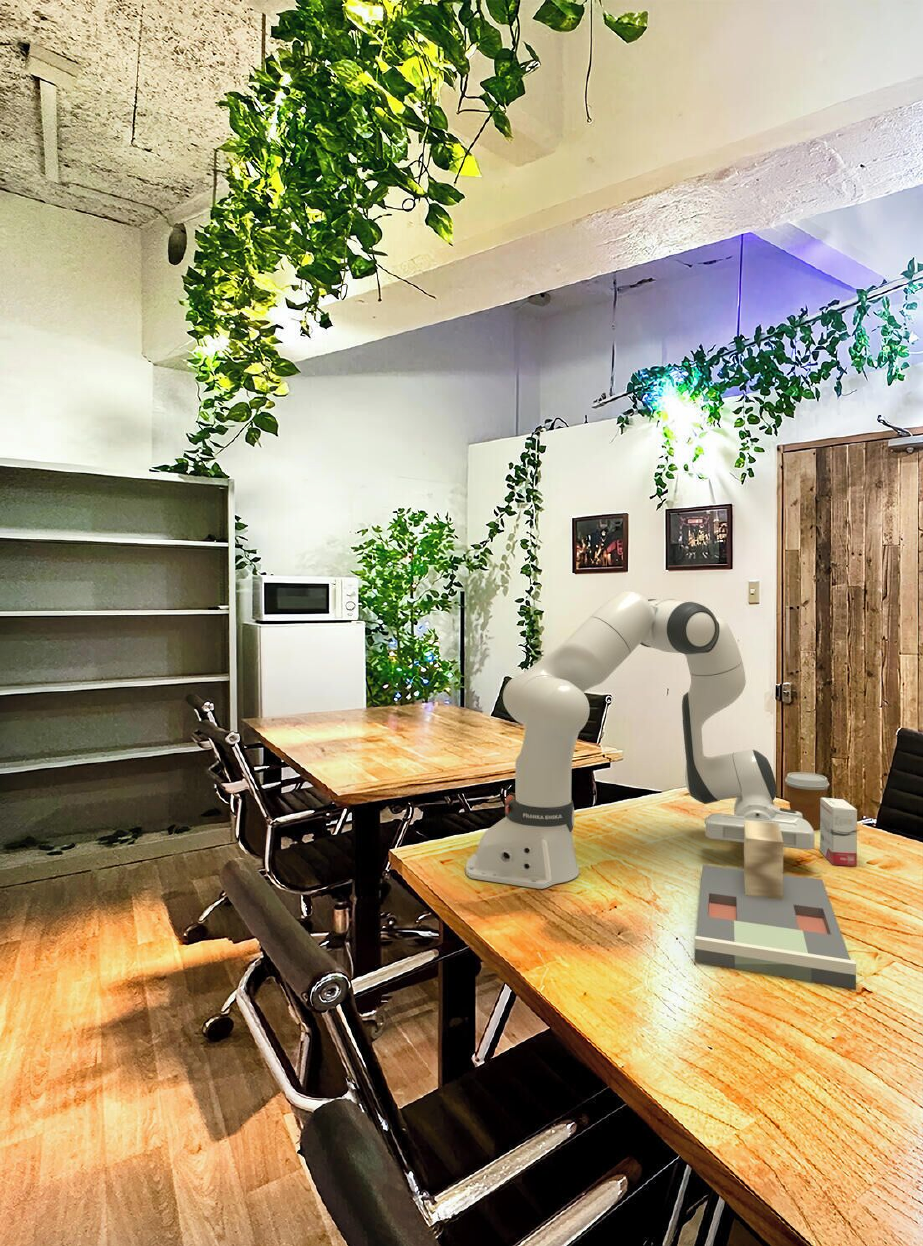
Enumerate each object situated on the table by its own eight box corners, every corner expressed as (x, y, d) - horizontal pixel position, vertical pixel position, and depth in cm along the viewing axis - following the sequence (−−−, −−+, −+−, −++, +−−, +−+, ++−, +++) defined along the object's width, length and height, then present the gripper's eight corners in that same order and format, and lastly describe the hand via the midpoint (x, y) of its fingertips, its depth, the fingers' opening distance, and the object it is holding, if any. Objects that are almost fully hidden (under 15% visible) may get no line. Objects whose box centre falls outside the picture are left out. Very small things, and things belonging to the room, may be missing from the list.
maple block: (745, 894, 123) (745, 838, 123) (743, 872, 133) (744, 820, 133) (782, 899, 121) (783, 842, 120) (778, 876, 131) (778, 823, 131)
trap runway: (694, 961, 103) (695, 938, 103) (702, 874, 137) (702, 857, 137) (855, 989, 96) (856, 964, 96) (822, 889, 130) (822, 871, 130)
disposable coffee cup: (775, 822, 170) (776, 773, 170) (807, 818, 173) (807, 770, 173) (805, 834, 161) (806, 782, 161) (838, 830, 164) (838, 779, 164)
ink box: (858, 867, 141) (858, 809, 141) (831, 865, 142) (832, 807, 142) (843, 852, 149) (844, 797, 149) (819, 850, 150) (819, 796, 150)
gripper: (704, 802, 151) (703, 821, 138) (809, 812, 144) (818, 833, 131) (704, 831, 151) (702, 852, 138) (809, 843, 144) (817, 866, 131)
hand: (759, 843), depth 135 cm, fingers closed
